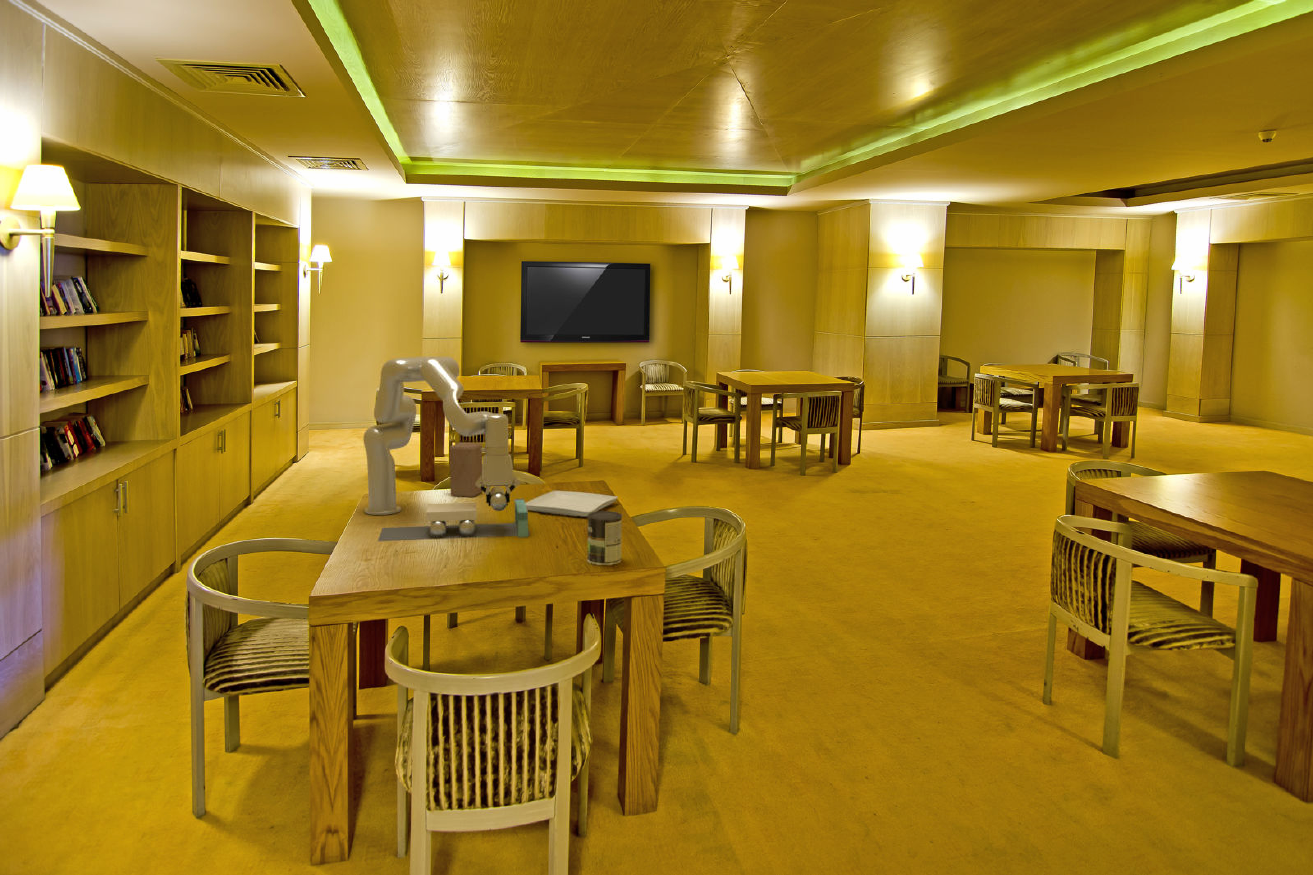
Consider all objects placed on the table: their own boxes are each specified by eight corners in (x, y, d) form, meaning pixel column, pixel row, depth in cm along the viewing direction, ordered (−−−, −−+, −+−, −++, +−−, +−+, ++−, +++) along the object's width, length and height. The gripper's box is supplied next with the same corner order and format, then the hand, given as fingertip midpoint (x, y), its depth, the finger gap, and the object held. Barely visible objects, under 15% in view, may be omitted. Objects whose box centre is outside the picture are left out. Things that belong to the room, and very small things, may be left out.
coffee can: (587, 566, 271) (587, 519, 269) (587, 556, 282) (587, 511, 279) (622, 565, 272) (622, 519, 270) (620, 555, 282) (621, 510, 280)
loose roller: (489, 500, 315) (489, 486, 314) (504, 500, 316) (504, 486, 316) (491, 511, 300) (491, 496, 299) (506, 510, 301) (506, 495, 300)
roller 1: (429, 524, 313) (433, 510, 312) (444, 527, 314) (448, 513, 313) (428, 536, 297) (431, 521, 297) (443, 539, 298) (447, 524, 298)
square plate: (521, 513, 336) (521, 503, 336) (554, 499, 362) (554, 489, 361) (589, 521, 327) (589, 510, 326) (618, 505, 352) (619, 495, 352)
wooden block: (473, 497, 360) (472, 447, 357) (449, 496, 362) (448, 446, 359) (483, 492, 369) (482, 443, 366) (460, 491, 371) (459, 442, 368)
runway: (382, 527, 312) (382, 503, 311) (526, 522, 322) (525, 498, 320) (377, 544, 292) (376, 517, 290) (530, 538, 301) (530, 512, 300)
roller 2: (460, 525, 315) (459, 511, 314) (474, 524, 316) (474, 510, 315) (459, 537, 299) (459, 522, 298) (475, 536, 300) (474, 521, 299)
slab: (427, 512, 310) (427, 504, 309) (476, 511, 313) (476, 502, 313) (426, 521, 298) (426, 512, 298) (476, 519, 301) (476, 510, 301)
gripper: (470, 453, 300) (472, 508, 303) (523, 452, 303) (524, 506, 306) (470, 450, 307) (472, 503, 310) (522, 448, 311) (523, 501, 313)
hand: (498, 504), depth 308 cm, fingers closed on loose roller, 5 cm apart
